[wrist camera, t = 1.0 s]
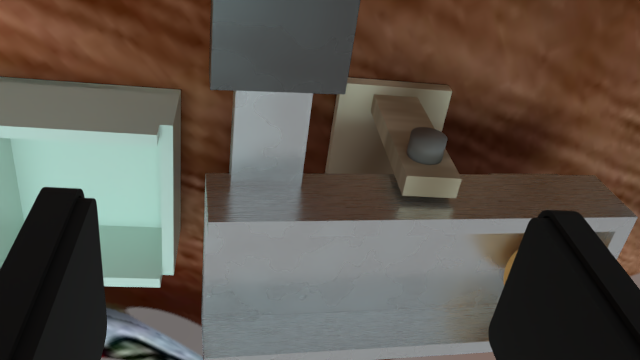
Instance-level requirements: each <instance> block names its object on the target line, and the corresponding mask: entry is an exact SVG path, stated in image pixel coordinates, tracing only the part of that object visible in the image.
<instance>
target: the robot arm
mask: <svg viewBox="0 0 640 360" xmlns="http://www.w3.org/2000/svg"><path fill="white" fill-rule="evenodd" d="M106 331H107V315H106V304H105V292H104V281H103V269H102V258H101V246H100V235H99V223H98V212H97V203H96V200H95V199H94V198H85V197H84V193H83V190H82V189H79V188H57V187H44V188H42V189H41V191H40V192H39V194H38V196H37V198H36V200H35V202H34V204H33V206H32V208H31V210H30V212H29V214H28V216H27V218H26V220H25V222H24V224H23V225H22V227H21V229H20V231H19V233H18V235H17V237H16V239H15V241H14V243H13V245H12V247H11V249H10V251H9V253H8V255H7V257H6V259H5V261H4V263H3V265H2V267H1V269H0V360H100V359H101V355H102V352H103V348H104V344H105V339H106ZM488 338H489V343H490V346H491V349H492V351H493V353H494V356H495V358H496V360H640V289H639V288H638V287H637V285H636V284H635V283H634V282H633V280H632V279H631V278H630V276H629V275H628V274H627V273H626V271H625V270H624V269H623V267H622V266H621V265H620V264H619V262H618V261H617V260H616V258H615V257H614V256H613V255H612V253H611V252H610V251H609V249H608V248H607V247H606V246H605V244H604V243H603V242H602V240H601V239H600V238H599V237H598V235H597V234H596V233H595V231H594V230H593V229H592V228H591V226H590V225H589V224H588V223H587V221H586V220H585V219H584V217H583V216H582V215H581V214H580V213H579V212H576V211H562V210H544V211H542V212H541V213H540V214H539V215H538V217H537V218H536V217H535V218H532V219H531V220H530V221H529V223H528V225H527V228H526V230H525V233H524V235H523V238H522V241H521V243H520V246H519V249H518V251H517V254H516V256H515V259H514V262H513V264H512V267H511V270H510V272H509V275H508V277H507V280H506V283H505V285H504V288H503V290H502V293H501V296H500V298H499V301H498V304H497V306H496V309H495V311H494V314H493V317H492V319H491V322H490V325H489V330H488Z"/></svg>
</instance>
